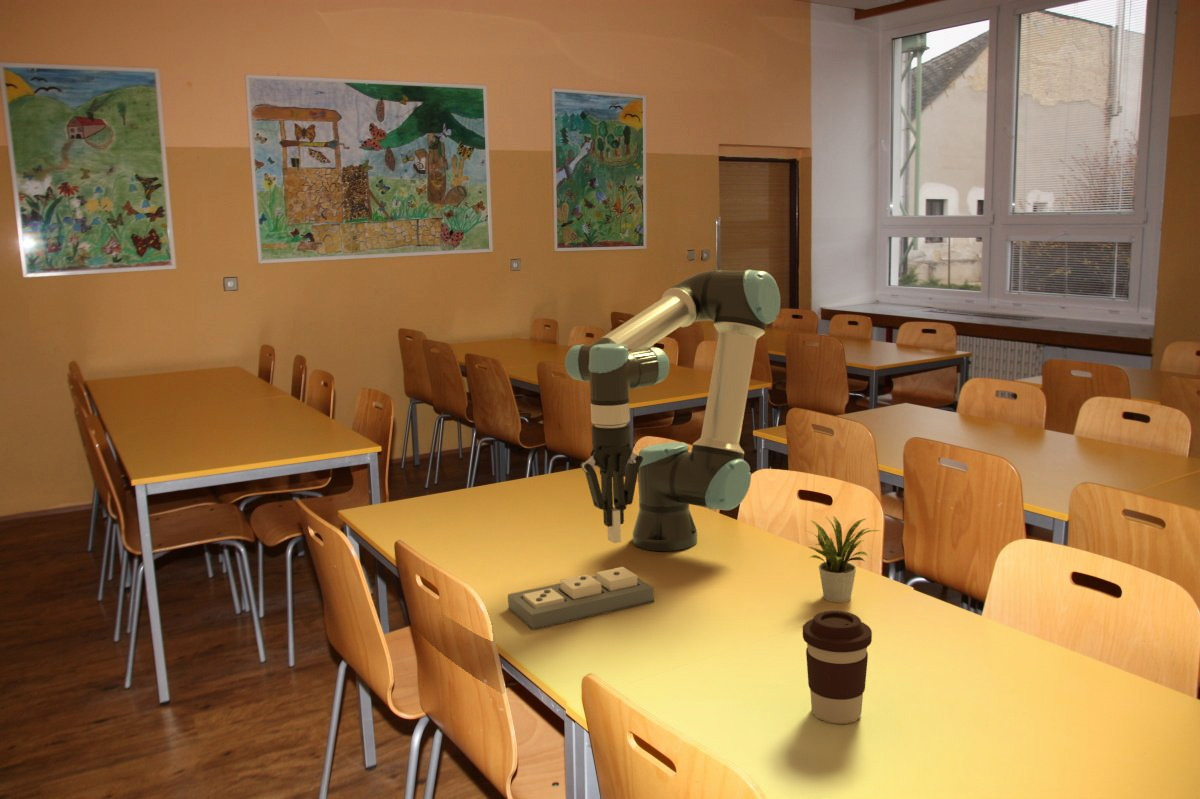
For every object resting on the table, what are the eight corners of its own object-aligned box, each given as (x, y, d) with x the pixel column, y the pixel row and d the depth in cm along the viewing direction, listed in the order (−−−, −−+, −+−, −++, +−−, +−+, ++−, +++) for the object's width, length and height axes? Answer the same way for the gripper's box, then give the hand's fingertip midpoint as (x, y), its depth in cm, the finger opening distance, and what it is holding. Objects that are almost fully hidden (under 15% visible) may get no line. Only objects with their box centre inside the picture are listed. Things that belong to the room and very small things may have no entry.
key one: (623, 576, 198) (622, 565, 198) (637, 585, 193) (637, 574, 193) (596, 581, 196) (596, 571, 195) (610, 591, 190) (610, 580, 190)
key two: (587, 583, 195) (587, 573, 194) (601, 593, 189) (601, 582, 189) (560, 589, 192) (560, 578, 192) (573, 599, 187) (573, 588, 186)
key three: (551, 597, 191) (551, 586, 191) (564, 607, 186) (564, 596, 186) (523, 603, 189) (522, 593, 188) (535, 614, 183) (535, 603, 183)
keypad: (625, 583, 202) (624, 569, 202) (654, 601, 192) (653, 587, 191) (508, 608, 191) (507, 594, 190) (532, 630, 180) (531, 614, 180)
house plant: (887, 589, 194) (888, 510, 191) (875, 614, 182) (876, 530, 179) (815, 580, 200) (815, 504, 197) (799, 605, 188) (799, 523, 185)
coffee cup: (794, 700, 150) (794, 608, 148) (857, 695, 151) (858, 603, 149) (813, 732, 141) (814, 634, 138) (880, 727, 141) (882, 629, 139)
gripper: (630, 417, 195) (634, 530, 199) (571, 424, 189) (576, 541, 193) (649, 423, 188) (652, 540, 192) (589, 431, 182) (593, 551, 186)
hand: (614, 540), depth 193 cm, fingers closed
